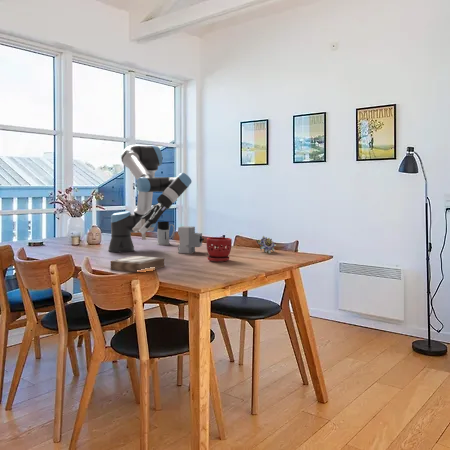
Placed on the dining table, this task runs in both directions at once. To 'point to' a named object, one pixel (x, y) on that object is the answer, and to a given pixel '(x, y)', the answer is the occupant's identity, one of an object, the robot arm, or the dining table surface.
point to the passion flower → (266, 244)
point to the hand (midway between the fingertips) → (137, 231)
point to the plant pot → (218, 248)
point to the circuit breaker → (189, 239)
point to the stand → (136, 263)
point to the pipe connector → (140, 228)
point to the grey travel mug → (163, 233)
